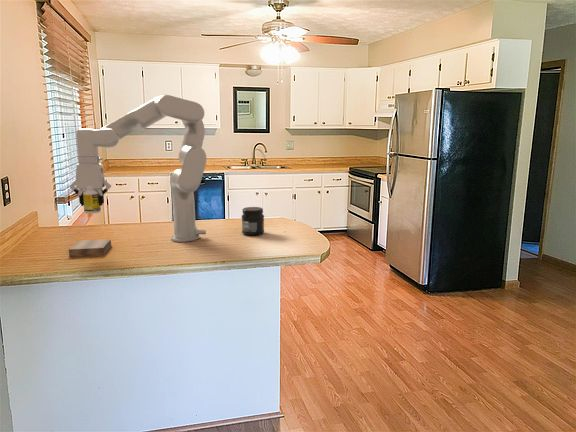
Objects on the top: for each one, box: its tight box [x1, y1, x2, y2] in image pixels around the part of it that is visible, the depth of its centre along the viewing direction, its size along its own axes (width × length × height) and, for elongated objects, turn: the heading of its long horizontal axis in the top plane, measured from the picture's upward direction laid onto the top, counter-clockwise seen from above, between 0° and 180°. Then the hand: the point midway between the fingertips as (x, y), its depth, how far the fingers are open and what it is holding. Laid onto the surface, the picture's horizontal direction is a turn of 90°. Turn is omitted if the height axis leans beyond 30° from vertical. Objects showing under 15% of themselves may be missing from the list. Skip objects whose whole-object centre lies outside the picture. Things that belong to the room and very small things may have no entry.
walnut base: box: [68, 239, 112, 258], centre depth 185 cm, size 13×13×3 cm
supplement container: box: [241, 206, 265, 237], centre depth 212 cm, size 10×10×12 cm
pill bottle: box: [83, 186, 102, 215], centre depth 182 cm, size 6×6×11 cm
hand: (92, 204), depth 182 cm, fingers closed on pill bottle, 6 cm apart
